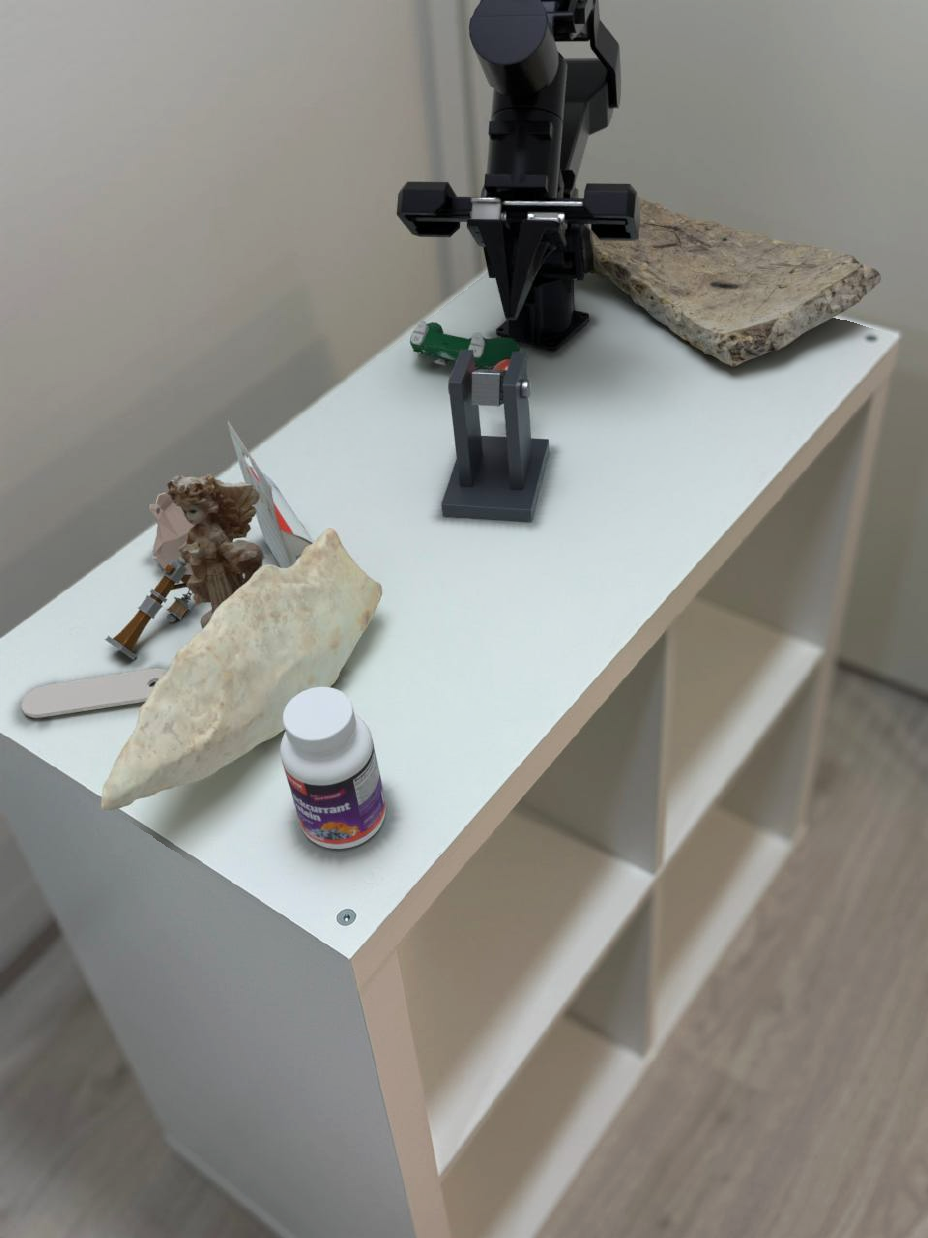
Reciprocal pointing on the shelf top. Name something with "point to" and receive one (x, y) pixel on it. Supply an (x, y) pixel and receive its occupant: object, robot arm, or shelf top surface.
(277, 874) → the shelf top surface
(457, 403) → the bracket
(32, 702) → the keychain
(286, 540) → the ink box
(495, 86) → the robot arm
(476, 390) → the lever
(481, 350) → the gaming controller
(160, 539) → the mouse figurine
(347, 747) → the pill bottle
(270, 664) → the arrowhead
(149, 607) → the wooden post with brackets
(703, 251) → the stone fragment
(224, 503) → the figurine
